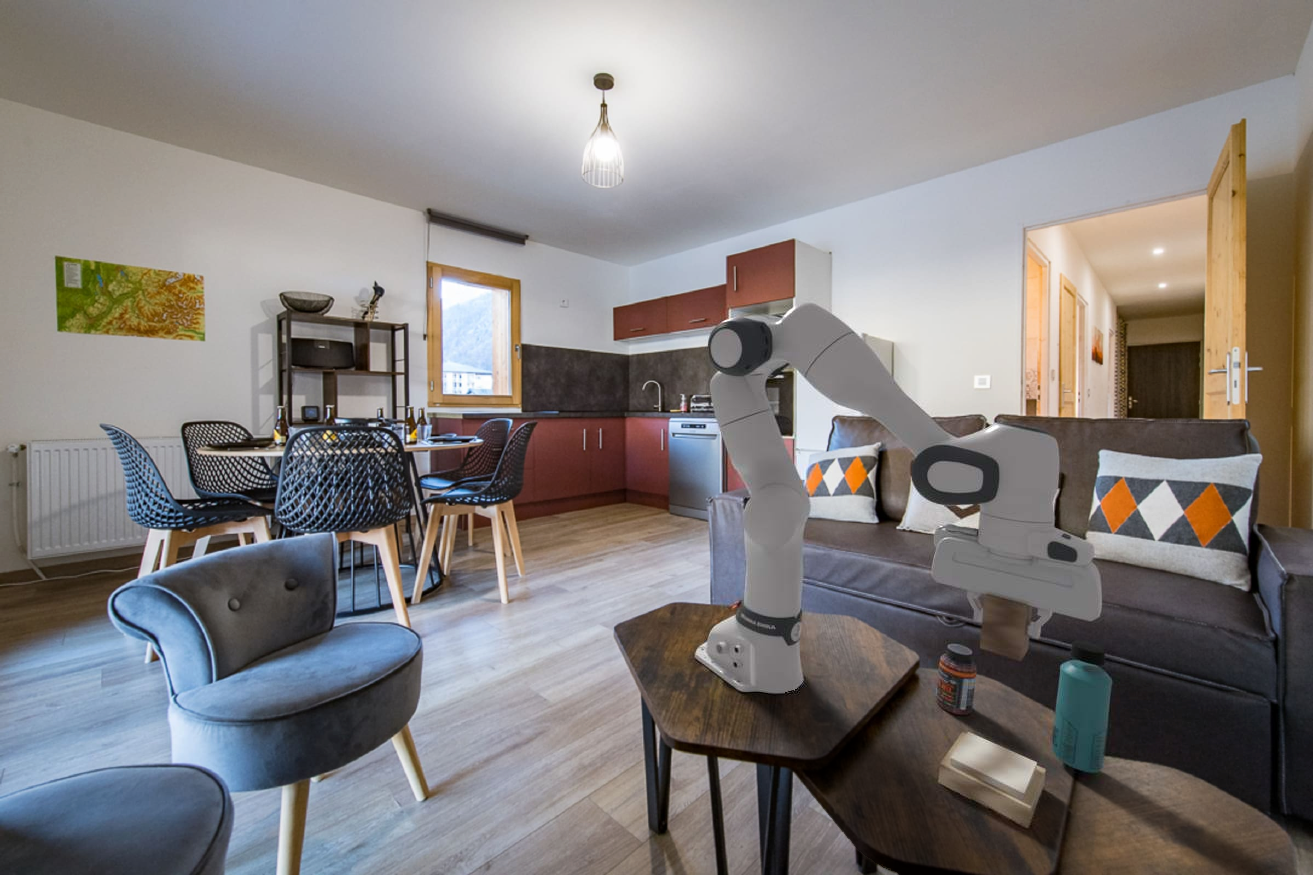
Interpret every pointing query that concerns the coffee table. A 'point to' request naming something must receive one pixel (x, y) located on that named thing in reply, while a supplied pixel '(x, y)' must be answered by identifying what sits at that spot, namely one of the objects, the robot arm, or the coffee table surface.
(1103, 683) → the beverage bottle
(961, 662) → the supplement bottle
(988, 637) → the walnut block
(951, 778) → the pedestal
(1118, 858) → the coffee table surface
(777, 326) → the robot arm
